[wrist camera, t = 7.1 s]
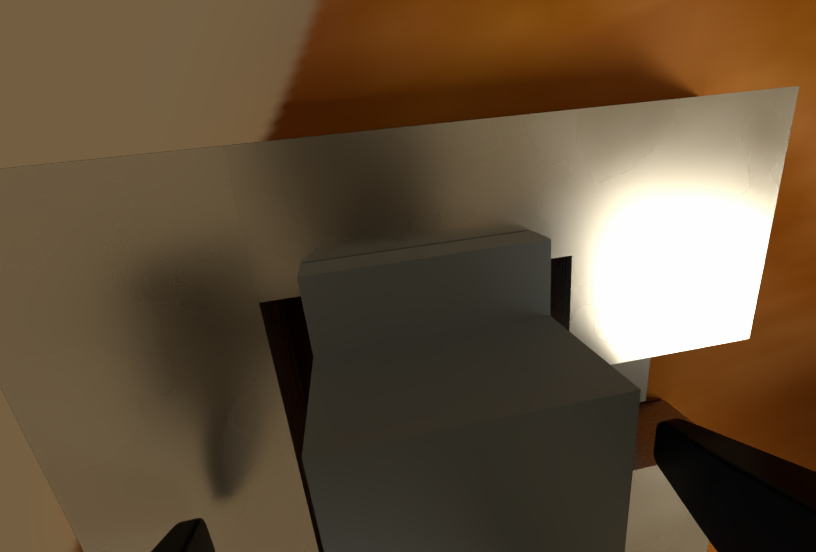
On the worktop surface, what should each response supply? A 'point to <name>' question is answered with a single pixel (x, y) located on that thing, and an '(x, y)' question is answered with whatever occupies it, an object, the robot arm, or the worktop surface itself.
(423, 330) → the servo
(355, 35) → the worktop surface
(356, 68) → the worktop surface
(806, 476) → the robot arm
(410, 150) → the plate
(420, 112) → the worktop surface
